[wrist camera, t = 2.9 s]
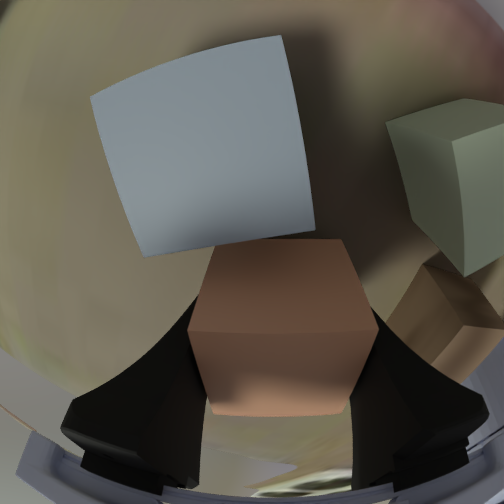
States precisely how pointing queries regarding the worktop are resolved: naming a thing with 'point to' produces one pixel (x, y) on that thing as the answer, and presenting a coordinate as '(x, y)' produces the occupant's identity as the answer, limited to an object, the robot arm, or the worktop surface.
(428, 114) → the sage cube
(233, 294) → the terracotta cube
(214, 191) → the slate cube
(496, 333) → the walnut cube
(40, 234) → the worktop surface
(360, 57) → the worktop surface
